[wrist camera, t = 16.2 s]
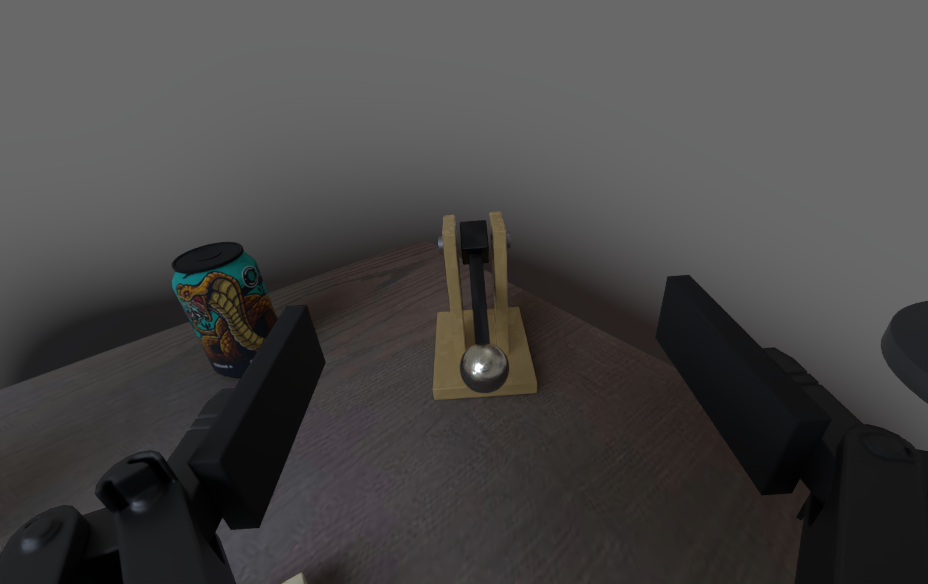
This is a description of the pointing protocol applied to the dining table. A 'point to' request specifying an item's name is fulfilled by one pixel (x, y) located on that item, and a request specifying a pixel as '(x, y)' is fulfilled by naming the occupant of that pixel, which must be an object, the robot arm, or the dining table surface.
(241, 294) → the beverage can
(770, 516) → the dining table surface
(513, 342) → the switch bracket
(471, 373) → the switch lever
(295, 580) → the switch box
